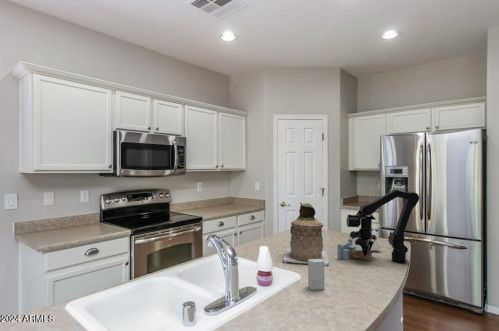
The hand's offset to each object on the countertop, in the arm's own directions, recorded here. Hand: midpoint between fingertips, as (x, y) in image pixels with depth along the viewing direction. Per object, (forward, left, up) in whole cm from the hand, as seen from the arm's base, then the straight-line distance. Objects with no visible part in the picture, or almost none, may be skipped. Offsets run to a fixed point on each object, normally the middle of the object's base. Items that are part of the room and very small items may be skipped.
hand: (366, 255), depth 168 cm
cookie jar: (+28, +18, -3) cm, 33 cm away
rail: (+4, 0, -2) cm, 4 cm away
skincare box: (+4, +53, -3) cm, 53 cm away
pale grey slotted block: (+8, -21, -3) cm, 22 cm away
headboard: (+10, 0, -3) cm, 10 cm away
